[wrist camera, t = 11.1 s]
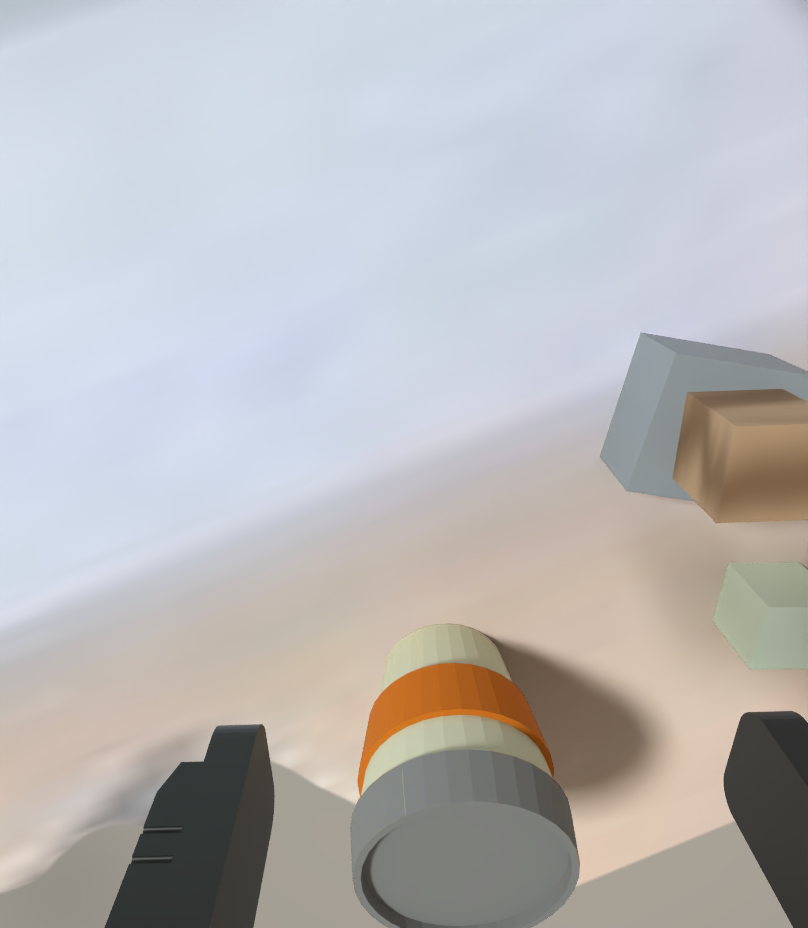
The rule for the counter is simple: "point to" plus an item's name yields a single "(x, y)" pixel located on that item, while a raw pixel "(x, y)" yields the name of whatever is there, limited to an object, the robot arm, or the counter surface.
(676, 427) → the slate block
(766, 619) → the sage green block
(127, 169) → the counter surface
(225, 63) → the counter surface
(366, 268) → the counter surface
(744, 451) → the walnut block
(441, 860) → the reusable coffee cup
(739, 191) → the counter surface
